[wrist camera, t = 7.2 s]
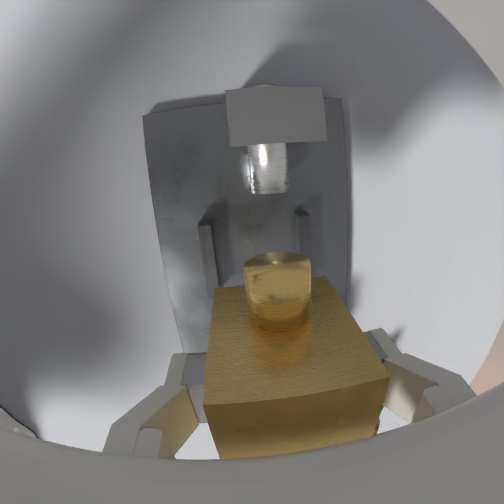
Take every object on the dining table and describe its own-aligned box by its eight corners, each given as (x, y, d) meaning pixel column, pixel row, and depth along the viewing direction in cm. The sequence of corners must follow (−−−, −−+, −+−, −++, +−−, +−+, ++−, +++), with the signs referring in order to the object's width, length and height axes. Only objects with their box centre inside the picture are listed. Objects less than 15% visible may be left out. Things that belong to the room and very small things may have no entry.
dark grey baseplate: (337, 349, 25) (355, 387, 20) (190, 366, 25) (184, 407, 20) (336, 96, 18) (364, 83, 14) (146, 112, 18) (120, 102, 13)
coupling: (321, 385, 13) (354, 484, 7) (234, 396, 13) (236, 502, 7) (325, 233, 10) (403, 314, 5) (208, 245, 10) (185, 344, 5)
